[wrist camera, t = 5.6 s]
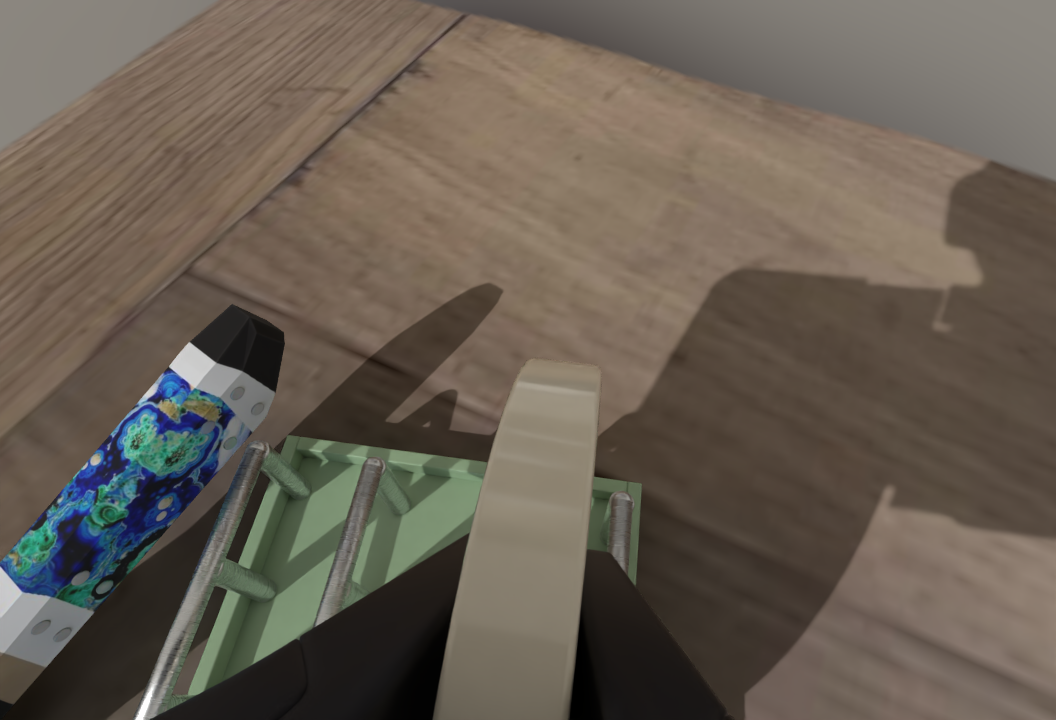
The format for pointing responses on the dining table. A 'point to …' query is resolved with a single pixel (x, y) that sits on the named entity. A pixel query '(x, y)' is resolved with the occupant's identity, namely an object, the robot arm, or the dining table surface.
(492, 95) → the dining table surface
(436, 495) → the dish rack
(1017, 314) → the dining table surface
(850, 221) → the dining table surface
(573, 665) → the plate
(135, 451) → the knife
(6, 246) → the dining table surface
